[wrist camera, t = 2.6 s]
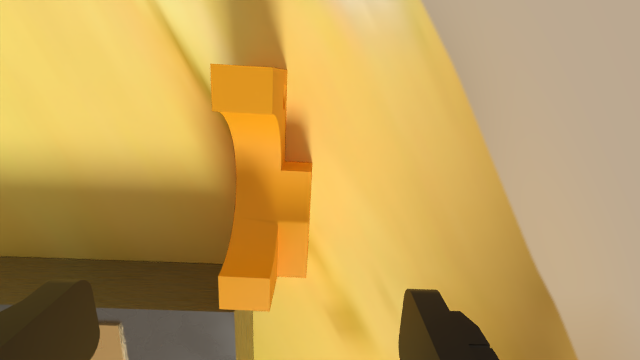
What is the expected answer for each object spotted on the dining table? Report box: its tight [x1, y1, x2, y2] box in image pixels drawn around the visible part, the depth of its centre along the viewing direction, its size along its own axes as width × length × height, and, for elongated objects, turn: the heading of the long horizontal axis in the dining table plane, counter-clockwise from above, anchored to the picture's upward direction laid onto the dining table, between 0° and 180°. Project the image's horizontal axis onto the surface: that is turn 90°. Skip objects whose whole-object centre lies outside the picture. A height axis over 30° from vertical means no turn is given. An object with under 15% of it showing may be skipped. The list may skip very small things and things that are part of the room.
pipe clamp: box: [210, 64, 312, 311], centre depth 19 cm, size 12×4×6 cm, turn 177°
